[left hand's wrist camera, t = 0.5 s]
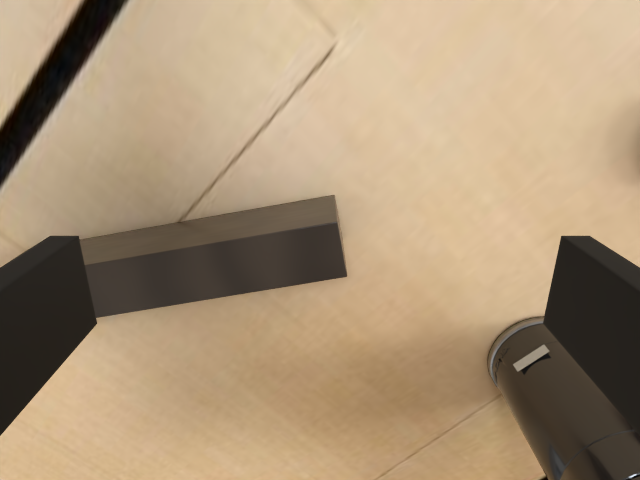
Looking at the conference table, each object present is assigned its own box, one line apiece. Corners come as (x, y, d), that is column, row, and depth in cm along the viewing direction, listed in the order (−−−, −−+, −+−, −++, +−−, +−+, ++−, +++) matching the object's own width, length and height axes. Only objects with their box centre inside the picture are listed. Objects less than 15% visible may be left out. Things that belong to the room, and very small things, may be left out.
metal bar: (49, 291, 42) (0, 333, 36) (29, 248, 40) (-26, 284, 34) (342, 242, 40) (347, 277, 34) (334, 194, 39) (337, 221, 32)
